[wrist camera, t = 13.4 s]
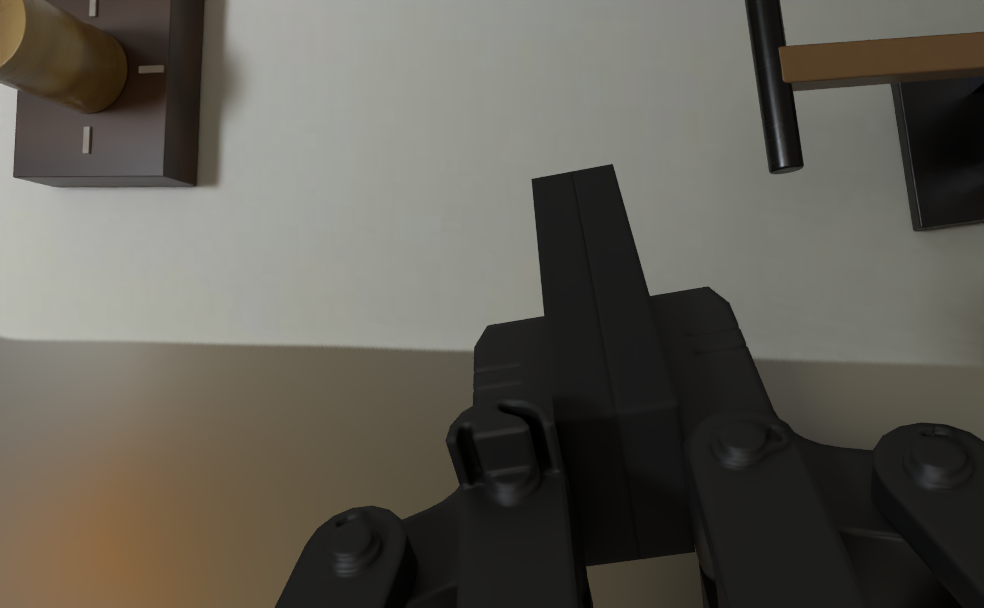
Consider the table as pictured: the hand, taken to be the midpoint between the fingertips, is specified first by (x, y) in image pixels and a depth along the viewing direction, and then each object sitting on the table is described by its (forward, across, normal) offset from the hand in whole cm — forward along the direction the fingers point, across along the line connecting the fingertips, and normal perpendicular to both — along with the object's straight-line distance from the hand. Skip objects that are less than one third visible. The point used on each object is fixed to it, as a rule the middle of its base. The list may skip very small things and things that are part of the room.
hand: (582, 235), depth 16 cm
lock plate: (+32, +23, +4) cm, 40 cm away
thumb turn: (+29, +23, +2) cm, 38 cm away
